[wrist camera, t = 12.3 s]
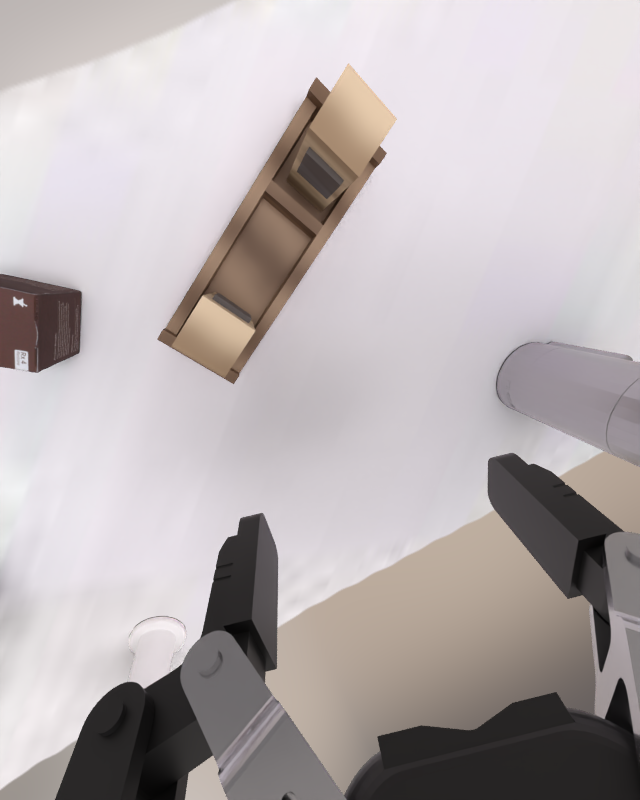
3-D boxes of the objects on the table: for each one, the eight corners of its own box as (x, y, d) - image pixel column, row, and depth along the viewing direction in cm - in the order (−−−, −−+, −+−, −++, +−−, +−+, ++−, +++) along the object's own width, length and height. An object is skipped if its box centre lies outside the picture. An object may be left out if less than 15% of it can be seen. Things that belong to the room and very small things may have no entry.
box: (3, 272, 28) (-72, 268, 21) (83, 290, 30) (37, 292, 23) (4, 341, 30) (-65, 358, 23) (80, 355, 32) (36, 374, 25)
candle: (120, 648, 44) (-15, 1050, 21) (145, 610, 43) (33, 990, 20) (170, 658, 46) (101, 1027, 23) (196, 623, 45) (148, 972, 22)
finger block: (311, 140, 29) (348, 63, 19) (345, 174, 31) (396, 119, 20) (283, 184, 30) (305, 133, 20) (318, 215, 31) (355, 182, 21)
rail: (305, 106, 29) (344, -3, 18) (367, 170, 32) (434, 109, 21) (168, 332, 33) (130, 356, 22) (234, 372, 35) (231, 412, 24)
